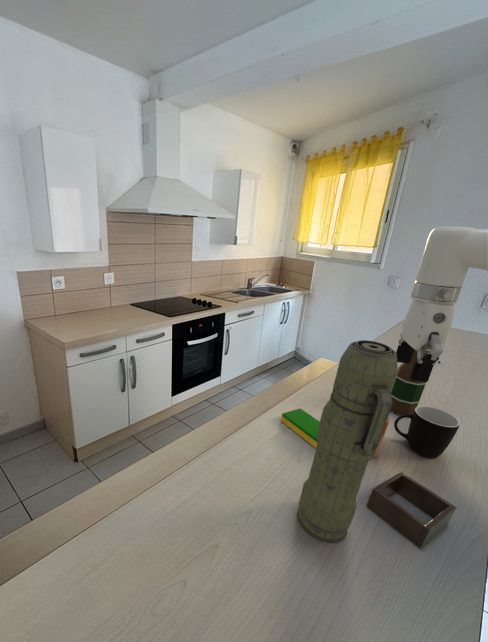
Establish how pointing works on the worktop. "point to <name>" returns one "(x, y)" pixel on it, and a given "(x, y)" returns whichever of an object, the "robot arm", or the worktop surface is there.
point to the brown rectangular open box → (403, 518)
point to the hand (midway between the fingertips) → (409, 370)
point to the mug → (429, 430)
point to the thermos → (347, 438)
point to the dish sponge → (302, 425)
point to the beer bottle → (406, 388)
